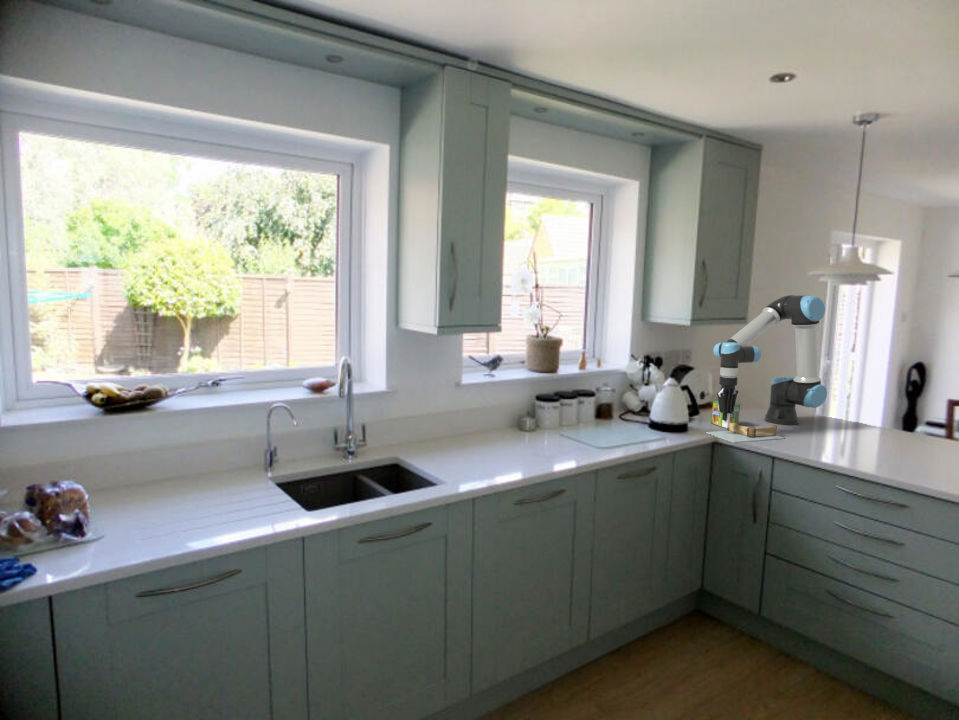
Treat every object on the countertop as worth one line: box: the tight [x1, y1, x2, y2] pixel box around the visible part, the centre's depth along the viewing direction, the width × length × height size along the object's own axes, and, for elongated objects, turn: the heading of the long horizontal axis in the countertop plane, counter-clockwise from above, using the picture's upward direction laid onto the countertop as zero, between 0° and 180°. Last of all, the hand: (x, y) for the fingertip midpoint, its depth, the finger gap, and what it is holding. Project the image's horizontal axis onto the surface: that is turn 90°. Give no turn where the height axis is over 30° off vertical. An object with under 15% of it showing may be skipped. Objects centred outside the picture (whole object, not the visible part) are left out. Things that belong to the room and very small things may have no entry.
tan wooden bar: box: [726, 421, 750, 436], centre depth 270 cm, size 12×2×4 cm, turn 23°
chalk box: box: [710, 400, 741, 429], centre depth 287 cm, size 9×9×15 cm
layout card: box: [705, 430, 785, 444], centre depth 268 cm, size 18×28×1 cm, turn 108°
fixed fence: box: [748, 424, 778, 438], centre depth 265 cm, size 2×15×5 cm, turn 108°
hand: (725, 427), depth 269 cm, fingers closed
